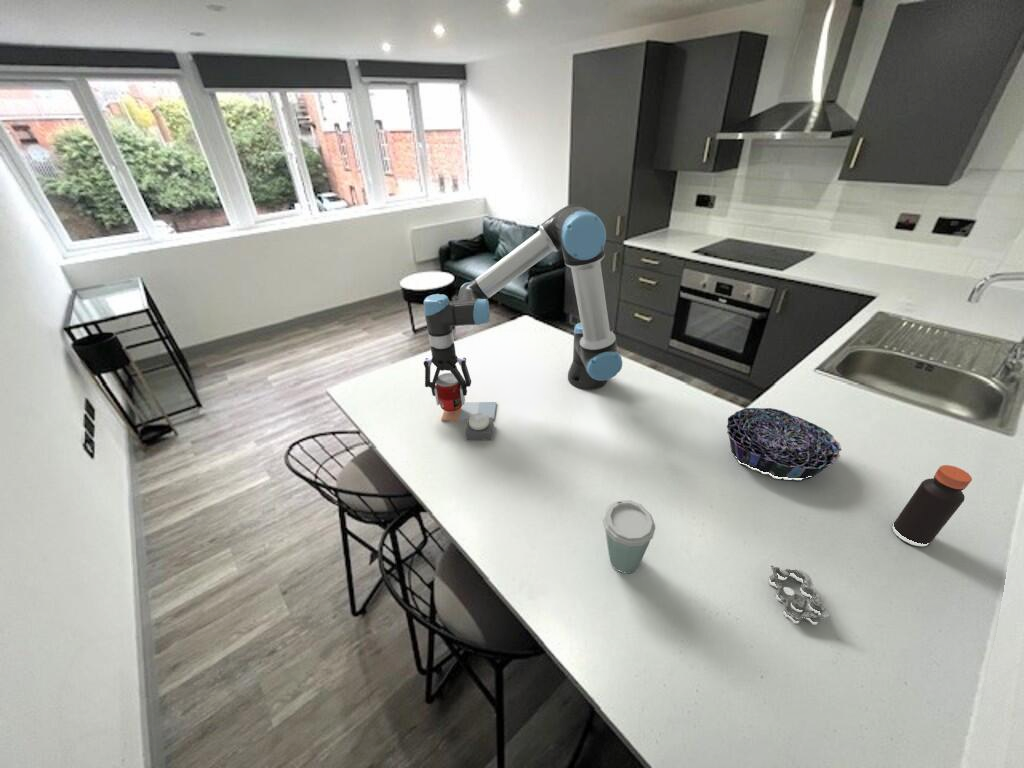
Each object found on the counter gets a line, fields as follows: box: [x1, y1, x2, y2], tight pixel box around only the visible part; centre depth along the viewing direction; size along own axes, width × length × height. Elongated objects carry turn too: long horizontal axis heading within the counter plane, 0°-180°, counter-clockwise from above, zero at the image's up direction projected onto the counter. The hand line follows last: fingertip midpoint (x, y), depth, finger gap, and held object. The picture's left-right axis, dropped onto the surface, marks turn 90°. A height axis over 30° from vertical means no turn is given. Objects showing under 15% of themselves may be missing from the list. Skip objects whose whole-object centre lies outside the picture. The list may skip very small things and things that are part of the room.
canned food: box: [435, 372, 462, 411], centre depth 140 cm, size 8×8×11 cm
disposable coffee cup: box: [602, 499, 656, 573], centre depth 90 cm, size 11×11×15 cm
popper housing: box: [465, 417, 494, 441], centre depth 134 cm, size 8×8×3 cm
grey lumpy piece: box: [768, 565, 830, 622], centre depth 84 cm, size 11×8×4 cm
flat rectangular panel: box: [440, 401, 497, 422], centre depth 144 cm, size 18×10×1 cm, turn 87°
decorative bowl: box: [726, 407, 842, 478], centre depth 117 cm, size 26×28×10 cm
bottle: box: [893, 464, 973, 544], centre depth 90 cm, size 7×7×20 cm
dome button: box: [469, 413, 489, 430], centre depth 133 cm, size 6×6×6 cm
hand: (451, 402), depth 143 cm, fingers closed on canned food, 8 cm apart
